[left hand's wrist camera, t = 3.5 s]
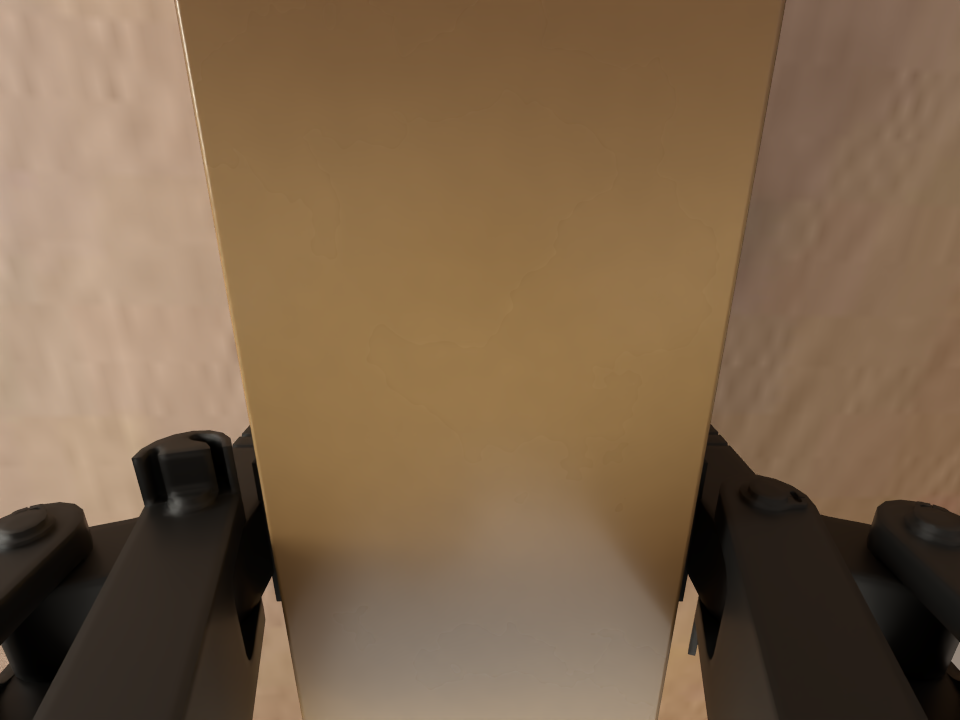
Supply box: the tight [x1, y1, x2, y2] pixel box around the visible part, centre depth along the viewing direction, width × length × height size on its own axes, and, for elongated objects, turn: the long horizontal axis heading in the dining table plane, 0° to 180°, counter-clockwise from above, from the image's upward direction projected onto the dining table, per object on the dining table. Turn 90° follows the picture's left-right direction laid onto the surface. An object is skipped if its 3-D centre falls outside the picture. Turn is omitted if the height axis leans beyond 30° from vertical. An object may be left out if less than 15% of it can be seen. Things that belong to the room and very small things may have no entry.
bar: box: [174, 0, 786, 720], centre depth 8 cm, size 22×5×8 cm, turn 0°
